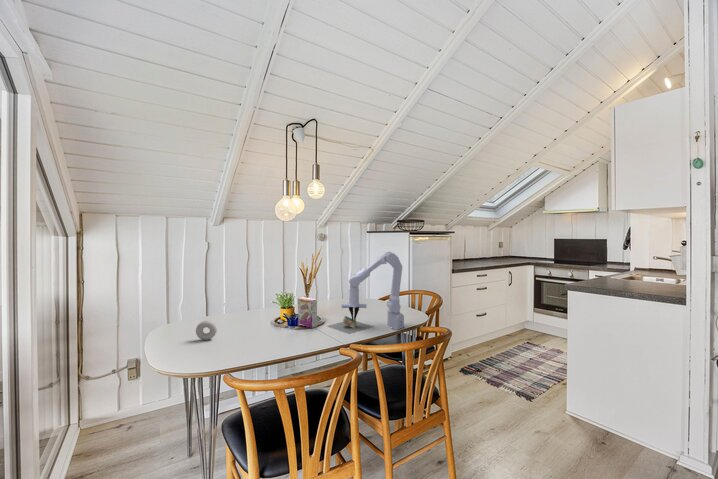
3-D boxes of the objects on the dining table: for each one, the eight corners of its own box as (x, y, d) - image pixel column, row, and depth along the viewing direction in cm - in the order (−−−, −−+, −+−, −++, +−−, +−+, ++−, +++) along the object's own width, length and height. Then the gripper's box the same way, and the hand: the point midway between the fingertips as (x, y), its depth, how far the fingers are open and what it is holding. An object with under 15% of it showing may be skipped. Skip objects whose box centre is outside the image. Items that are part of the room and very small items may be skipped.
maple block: (355, 320, 198) (345, 315, 198) (356, 323, 192) (345, 318, 192) (353, 325, 198) (342, 320, 198) (354, 328, 192) (343, 323, 192)
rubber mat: (374, 327, 196) (374, 326, 196) (349, 334, 182) (349, 334, 182) (351, 320, 210) (351, 319, 210) (326, 326, 196) (326, 326, 196)
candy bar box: (297, 325, 199) (297, 298, 198) (303, 323, 203) (303, 296, 202) (311, 328, 193) (311, 300, 192) (317, 326, 197) (317, 299, 196)
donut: (195, 341, 170) (194, 322, 169) (196, 339, 173) (196, 320, 173) (216, 340, 172) (216, 321, 172) (217, 338, 176) (217, 319, 175)
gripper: (341, 298, 190) (341, 322, 191) (367, 298, 191) (366, 322, 192) (341, 296, 197) (341, 318, 198) (365, 295, 198) (365, 318, 199)
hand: (353, 320), depth 195 cm, fingers closed
